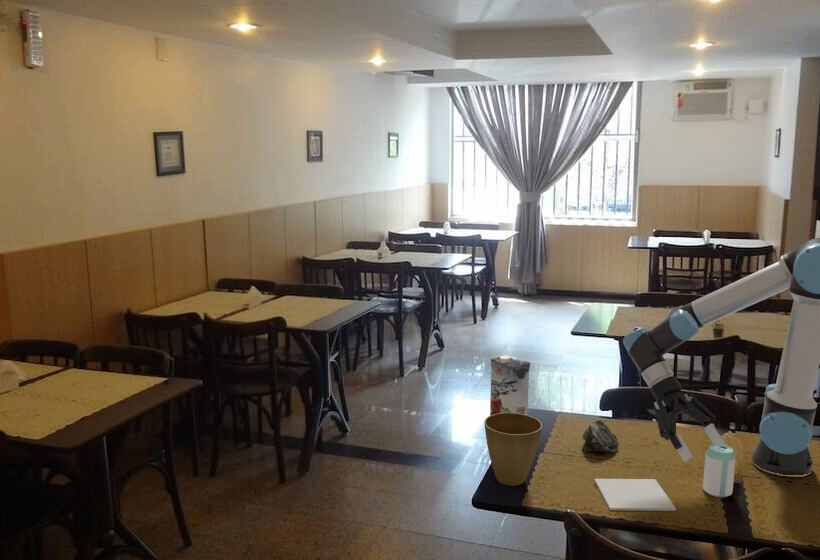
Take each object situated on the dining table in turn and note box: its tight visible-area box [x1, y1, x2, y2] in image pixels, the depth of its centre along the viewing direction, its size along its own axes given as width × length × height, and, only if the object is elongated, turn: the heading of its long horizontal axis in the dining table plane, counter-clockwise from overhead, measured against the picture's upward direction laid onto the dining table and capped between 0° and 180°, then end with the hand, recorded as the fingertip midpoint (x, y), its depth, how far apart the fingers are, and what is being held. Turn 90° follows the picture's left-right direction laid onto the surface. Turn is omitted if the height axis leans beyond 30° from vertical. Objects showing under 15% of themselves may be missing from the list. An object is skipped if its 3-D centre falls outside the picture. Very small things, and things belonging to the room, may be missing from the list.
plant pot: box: [484, 413, 543, 487], centre depth 199 cm, size 15×15×16 cm
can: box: [702, 443, 737, 498], centre depth 193 cm, size 7×7×12 cm
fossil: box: [582, 419, 619, 455], centre depth 220 cm, size 11×9×10 cm
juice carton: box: [489, 355, 531, 416], centre depth 221 cm, size 9×10×27 cm
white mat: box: [594, 478, 677, 512], centre depth 192 cm, size 16×16×1 cm
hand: (705, 453), depth 195 cm, fingers open, 13 cm apart
